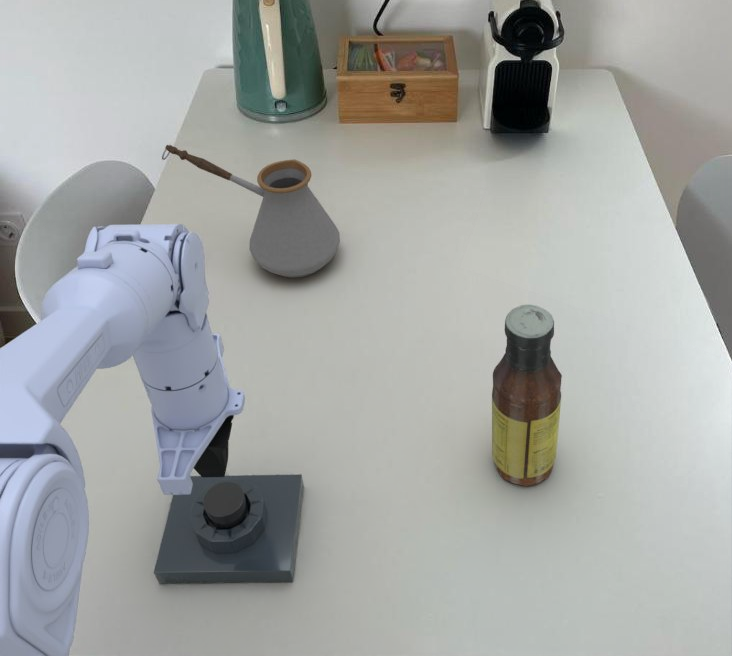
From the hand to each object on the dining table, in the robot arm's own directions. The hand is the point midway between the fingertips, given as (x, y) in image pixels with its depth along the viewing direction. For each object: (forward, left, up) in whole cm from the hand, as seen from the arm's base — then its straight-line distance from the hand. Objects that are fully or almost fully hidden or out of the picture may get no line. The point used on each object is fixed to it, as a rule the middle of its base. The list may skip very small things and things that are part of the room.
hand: (214, 470), depth 69 cm
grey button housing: (0, 0, -10) cm, 10 cm away
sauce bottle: (+20, -20, -10) cm, 30 cm away
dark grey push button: (0, 0, -6) cm, 6 cm away
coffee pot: (+34, +23, -10) cm, 42 cm away
